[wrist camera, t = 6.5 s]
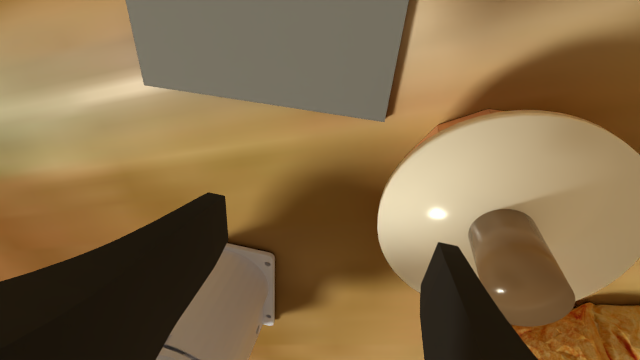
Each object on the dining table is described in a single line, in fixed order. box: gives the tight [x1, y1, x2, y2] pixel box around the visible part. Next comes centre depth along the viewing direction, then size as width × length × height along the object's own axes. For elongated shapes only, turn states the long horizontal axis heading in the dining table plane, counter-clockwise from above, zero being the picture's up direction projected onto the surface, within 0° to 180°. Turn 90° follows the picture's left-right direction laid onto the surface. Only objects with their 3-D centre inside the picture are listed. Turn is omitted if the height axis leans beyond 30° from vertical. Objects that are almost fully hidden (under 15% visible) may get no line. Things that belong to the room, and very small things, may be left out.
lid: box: [377, 110, 640, 327], centre depth 14 cm, size 12×12×5 cm
